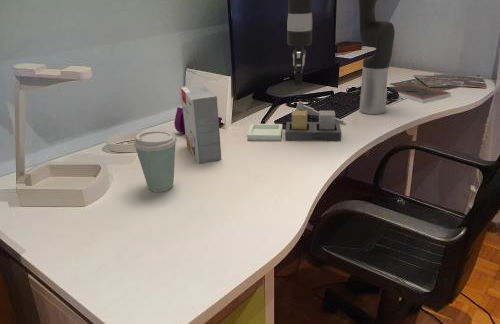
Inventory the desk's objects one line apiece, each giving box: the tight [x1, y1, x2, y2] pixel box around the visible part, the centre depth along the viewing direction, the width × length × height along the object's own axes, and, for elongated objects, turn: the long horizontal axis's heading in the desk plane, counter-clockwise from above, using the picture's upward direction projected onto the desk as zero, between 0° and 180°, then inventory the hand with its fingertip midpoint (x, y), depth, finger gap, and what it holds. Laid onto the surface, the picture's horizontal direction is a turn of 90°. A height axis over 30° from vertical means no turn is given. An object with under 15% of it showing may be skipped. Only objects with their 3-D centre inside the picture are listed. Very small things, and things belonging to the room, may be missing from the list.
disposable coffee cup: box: [133, 129, 177, 193], centre depth 107 cm, size 11×11×15 cm
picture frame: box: [388, 82, 452, 104], centre depth 180 cm, size 16×2×22 cm
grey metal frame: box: [284, 121, 342, 142], centre depth 139 cm, size 18×10×3 cm, turn 83°
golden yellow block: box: [291, 110, 308, 130], centre depth 139 cm, size 5×5×8 cm
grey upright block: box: [318, 110, 336, 131], centre depth 138 cm, size 5×5×8 cm
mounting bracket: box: [174, 106, 223, 135], centre depth 148 cm, size 10×8×18 cm
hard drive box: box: [179, 83, 222, 165], centre depth 126 cm, size 16×8×20 cm, turn 21°
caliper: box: [295, 100, 347, 126], centre depth 153 cm, size 20×1×6 cm, turn 54°
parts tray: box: [246, 123, 283, 142], centre depth 142 cm, size 11×11×2 cm
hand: (298, 81), depth 133 cm, fingers open, 8 cm apart
